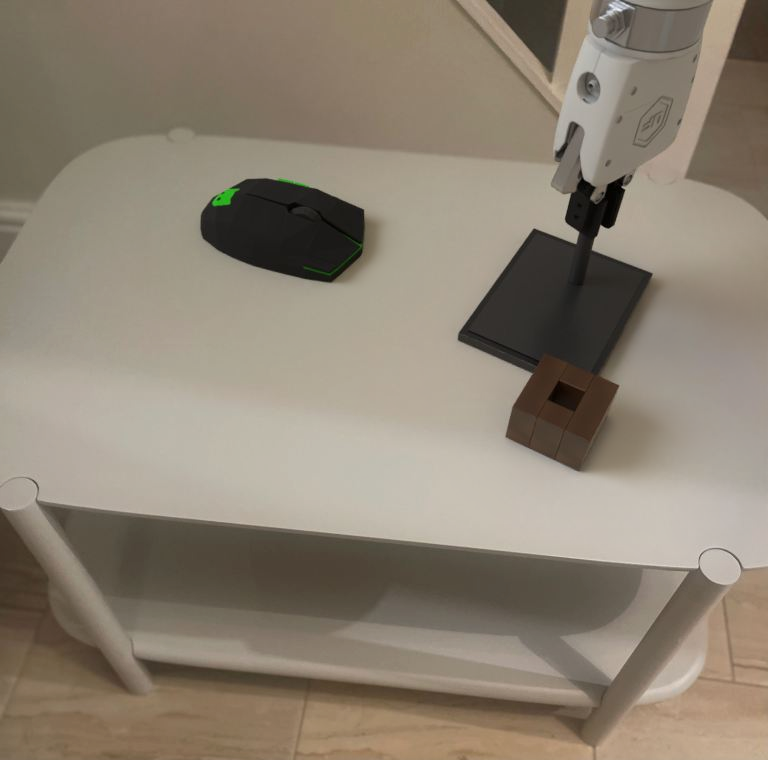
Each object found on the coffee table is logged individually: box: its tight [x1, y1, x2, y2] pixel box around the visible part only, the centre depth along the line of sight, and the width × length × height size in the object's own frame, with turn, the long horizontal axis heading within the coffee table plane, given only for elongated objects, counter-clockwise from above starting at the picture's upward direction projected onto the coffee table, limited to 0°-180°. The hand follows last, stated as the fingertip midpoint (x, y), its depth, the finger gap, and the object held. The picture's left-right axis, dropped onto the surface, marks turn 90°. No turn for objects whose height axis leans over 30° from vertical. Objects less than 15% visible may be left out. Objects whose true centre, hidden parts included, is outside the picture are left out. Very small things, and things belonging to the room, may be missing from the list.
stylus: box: [569, 184, 608, 285], centre depth 67 cm, size 1×1×12 cm
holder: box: [505, 353, 620, 472], centre depth 62 cm, size 6×6×4 cm
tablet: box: [457, 228, 654, 377], centre depth 71 cm, size 12×16×1 cm
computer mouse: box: [199, 177, 365, 283], centre depth 76 cm, size 11×16×4 cm
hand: (589, 223), depth 67 cm, fingers closed on stylus, 1 cm apart
